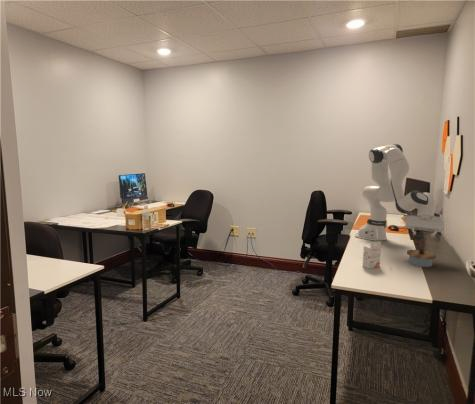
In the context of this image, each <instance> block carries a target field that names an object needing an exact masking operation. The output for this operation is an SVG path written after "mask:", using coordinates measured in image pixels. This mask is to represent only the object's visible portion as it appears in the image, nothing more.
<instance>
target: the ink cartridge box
mask: <svg viewBox="0 0 475 404" xmlns="http://www.w3.org/2000/svg"><path fill="white" fill-rule="evenodd" d="M381 254H382V240H378V241H374V242H373V241H372V242H370V245H364V246H363V253H362V267H363V268H367V269H375V268H379V267H380V266H381Z"/></svg>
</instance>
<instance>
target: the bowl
mask: <svg viewBox="0 0 475 404" xmlns="http://www.w3.org/2000/svg"><path fill="white" fill-rule="evenodd" d="M433 261H434V259H421V258H416V257H412V256H409V255H408V263H409V264H411V265H414V266H416V267H422V268H430V267H433Z"/></svg>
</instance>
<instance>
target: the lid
mask: <svg viewBox="0 0 475 404" xmlns="http://www.w3.org/2000/svg"><path fill="white" fill-rule="evenodd" d="M425 244H426V240H425V239H422V238H421V239H420V240H419V249H408V250H407V251H406V254H407V256H408V257H409V256H412V257H416V258H421V259H433V260H434V259H436V258H437V254H435V253H434V252H430V251H427V250H425Z"/></svg>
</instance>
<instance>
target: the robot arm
mask: <svg viewBox="0 0 475 404" xmlns="http://www.w3.org/2000/svg"><path fill="white" fill-rule="evenodd" d="M368 157H369V161H370V162H371V180H372V181H373V182H374V183H376V184H377V185H368V186H367V185H366V186H365V187H364V188H363V190H362V196H363V198H364V199H365V200H366V201H367V202H368V205H369V208H370V216H369V217H370V218H369V217H368V218H367V220H366V223H365V224H363V225H362V226H361V227H359V229H358V231H357V233H355V234H354V237H355V238H358V239H363V240H370V241H374V242H379V241H386V240H388V238H387V230H386V229H387V225H388V220H387V215H388V211H387V210H388V209H386V208H385V206H383V205H382V204H381V202H384V203H394V204H395V208H396V210H397V211H398V212H399V213H401V214H404V215H406V214H409V213H410V212H411V213H412V211H413V210H415V209H417V214H416V215H415V214H409V215H406V216H405V221H406V222H405V226H404V227H405V228H406V229H409V230H411V232H412V235H413V236H416V235H417V230H418V231H426V232H431V235H430V236H431V238H435V235H436V234H437V233H443V232H444V230H445V223H444V222H445V221H444V219H443V215H442V214H440V213H437V212H436V211H434V209H435V206H436V205H435V204H436V201H435V197H434V195H433V194H432V193H430V192H421V191H419V190H412V191H410V192H409V193H407V194H406V195H405V194H404V190H403V186H402V185H403V181H404V180H405V177H407V175H408V173H409V170H410V165H409V162H408V160H407V158H406V156H405V154H404V150H403V147H402V145H400V144H398V143H393V144H386V145H382V146H378V147H374V148H372V149H370V150H369V152H368ZM389 170H390V178H389Z"/></svg>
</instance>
